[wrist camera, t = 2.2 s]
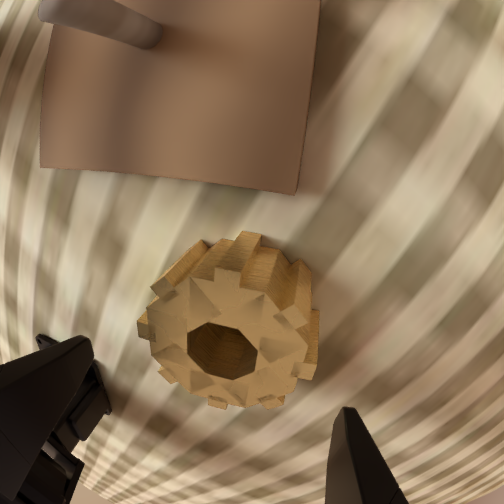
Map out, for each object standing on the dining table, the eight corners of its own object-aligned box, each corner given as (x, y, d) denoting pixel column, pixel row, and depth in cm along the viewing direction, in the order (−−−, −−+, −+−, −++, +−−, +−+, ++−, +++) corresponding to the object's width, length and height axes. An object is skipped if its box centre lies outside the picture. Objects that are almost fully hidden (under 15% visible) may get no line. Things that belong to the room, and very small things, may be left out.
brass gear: (175, 340, 15) (146, 384, 12) (174, 219, 13) (130, 248, 9) (301, 370, 14) (293, 424, 11) (335, 248, 12) (340, 292, 9)
